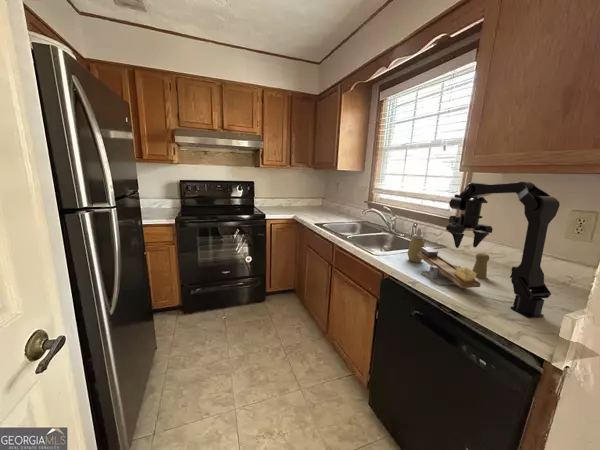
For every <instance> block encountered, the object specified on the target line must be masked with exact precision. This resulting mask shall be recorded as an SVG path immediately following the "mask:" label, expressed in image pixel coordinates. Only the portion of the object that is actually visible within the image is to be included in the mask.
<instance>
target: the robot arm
mask: <svg viewBox="0 0 600 450" xmlns="http://www.w3.org/2000/svg"><path fill="white" fill-rule="evenodd" d="M495 194H497V195H498V194H500V195H501V194H516V195H517V197H518V201H520V203H521V204H522V205H523V206H524V207H523V208H524V212H523V213H524V215H525V218H526V221H527V227H526V234H525V238H524V245H523V251H522V256H521V262H520V264H519V265H518V266H512V267H511V273H510V276H509V278H510V281H511V284H512V287H513V292H514V293H513V294H515V297H514V300H513V305H512V306H510V309H512V310H514V311H515V312H517V313H519V314H521V315H523V316H525V317H527V318H529V319H532V318H533V319H534V318H543V317H544V316H545V314H543V313H542V312H543V311H542V310H543V307H544V302H545V299H549V298H550V296H551V295H552V293H551V291H550V289H549V288H548V286H547V285H546V284H545V273H544V271H543V268H542V267H541V264H542V260H543V259H542V258H543V254H544V250H545V249H544V248H545V243H546V238H547V232H548V227H549V224H550V223H551V221H553V219H554V218H555V217H556V216H557V213H558V211H559V208H560V204H561V203H560V201H559V200H558V199H557V198H556V197H554V196H551V195H550V194H549V193H547V192H546V191H544V190H543V189H541V188H539V187H537V186H536V184H534V183H532V182H531V181H517V182H506V183H487V182H486V183H484V182H469V183H468V184H467V185H466V187H465V188H463V190H462V192H461V193H460V194H457V193H456V194H454V197H452V198H451V199H450V200H449V202H448V203H449V208H450V209H453V210H455V211H456V210H457V211H463V212H464V213H461V214H460V216H458V217H457V216H456V215H449V217H448V224H447V225H446V228H445V231H448V233H450V234H451V235H452V237H453V238H452V239H453V242H454V247H455V248H456V249H459V247H460V245H461V243H462V241H463V238H464V236H465V234H464V232H465V231H466V232H467V231H469V232H470V231H472V233H473V241H472V242H473V243H472V247H473V248H474V249H475V248H477V247H478V245H480V243H481V242H482V241H483V240H484V239H485V238H486V237H487V236H489V235H490V234H492V233H493V229H494V228H493V227H492V226H491V225H488V224H484V223H479V222H480V219H483V215H481V213H482V211H481V210H482V206H483V204H488V200H487V199H486V198H485V197H487V196H488V197H489V196H491V195H495Z"/></svg>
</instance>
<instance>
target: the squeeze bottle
mask: <svg viewBox="0 0 600 450" xmlns="http://www.w3.org/2000/svg"><path fill="white" fill-rule="evenodd" d="M422 247H425V240H424V235H423V234H422V229H421V228H420V227H418V228H417V231H416V233H414V234H413V237H412V238H411V239H410V243H409V246H408V250H407V256H408V261H410V262H413V263H421V262H422V261H423V259H421V258H420V257H419V256H417V254H418V253H419V252H421V249H422Z"/></svg>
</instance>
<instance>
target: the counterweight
mask: <svg viewBox="0 0 600 450" xmlns="http://www.w3.org/2000/svg"><path fill="white" fill-rule="evenodd" d="M421 253H423V254H424V255H426V256H427V257H428V258H433V257H437V255H439V250H438V251H437V250H436V249H435V248H433V247H432V246H430V247H429V246H426V247H425V246H424V247H422V249H421Z"/></svg>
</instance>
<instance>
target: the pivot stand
mask: <svg viewBox="0 0 600 450" xmlns="http://www.w3.org/2000/svg"><path fill="white" fill-rule="evenodd" d="M453 265H454V266H455V267H457V268H462V266H461V265H458V264H453ZM420 275H422V276H423V277H425V278H426V279H429V280H430V281H432V282H433V283H435V284H437V285H439V286H451V285H452V286H455V285H457V284H455V283H454V282H453V281H451V280H450V279H449V278H447V277H446V276H444V275H443V274H442V273H440V272H439V271H438V267H436V266H431V265H430V267H429V271H421V272H420ZM457 286H458V285H457Z"/></svg>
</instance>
